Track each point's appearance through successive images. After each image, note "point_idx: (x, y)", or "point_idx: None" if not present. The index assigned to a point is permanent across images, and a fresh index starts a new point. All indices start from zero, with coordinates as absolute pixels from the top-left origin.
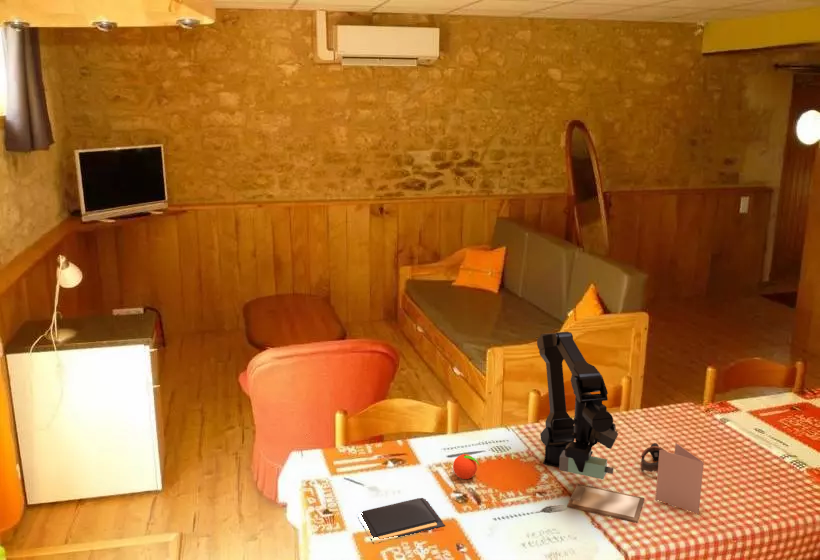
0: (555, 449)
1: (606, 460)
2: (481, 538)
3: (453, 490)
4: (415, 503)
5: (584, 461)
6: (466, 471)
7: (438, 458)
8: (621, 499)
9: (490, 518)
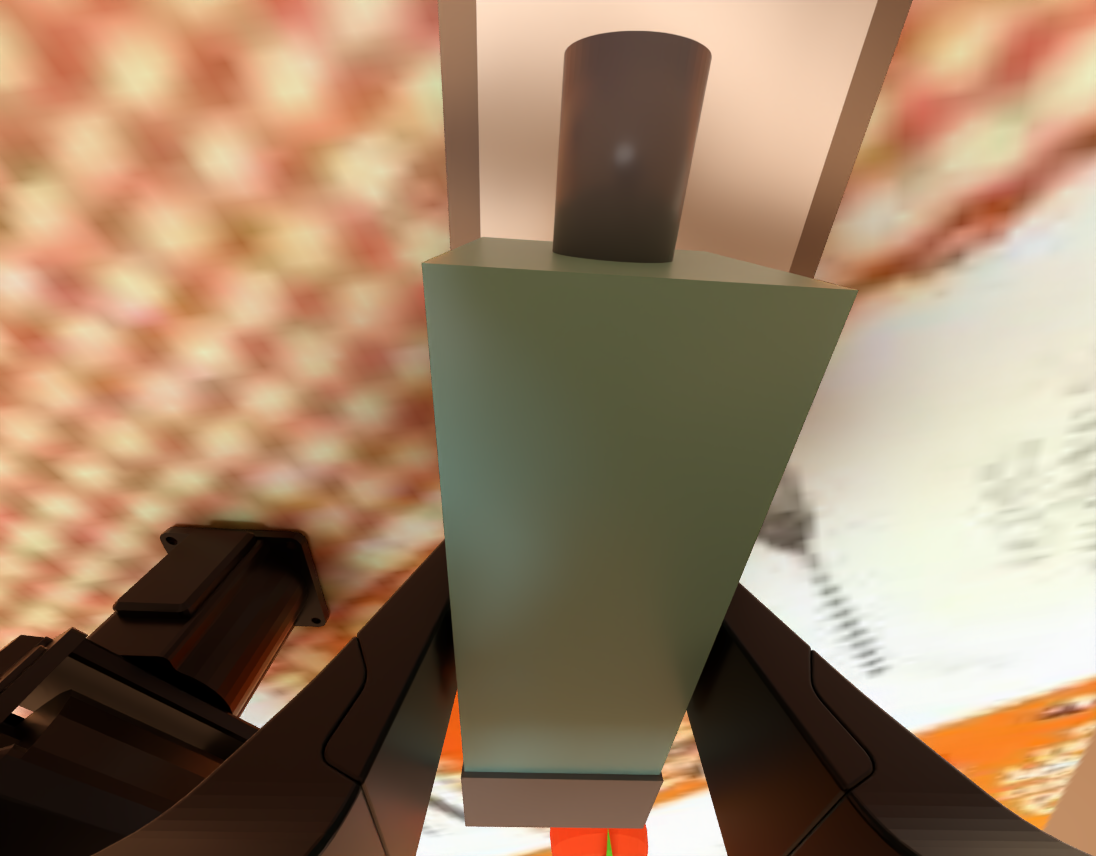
0: (240, 679)
1: (504, 274)
2: (1021, 677)
3: (690, 778)
4: None
5: (866, 706)
6: (644, 833)
7: (500, 830)
8: (584, 23)
9: (874, 681)
